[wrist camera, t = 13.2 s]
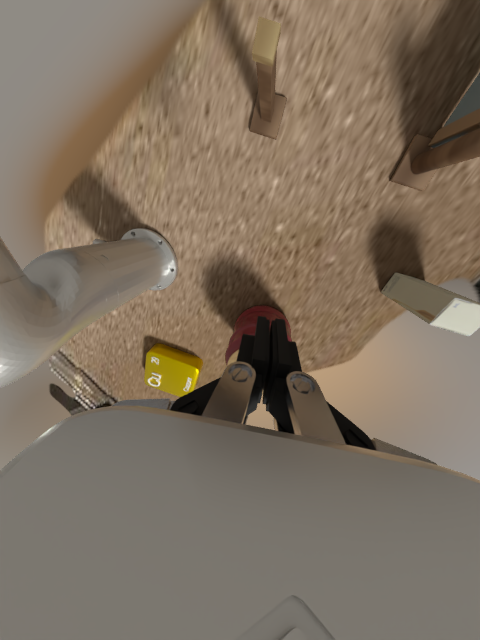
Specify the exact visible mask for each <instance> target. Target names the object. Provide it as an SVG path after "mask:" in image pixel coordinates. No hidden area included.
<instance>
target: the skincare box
mask: <svg viewBox="0 0 480 640" xmlns="http://www.w3.org/2000/svg"><path fill="white" fill-rule="evenodd" d="M381 293H382V294H384V295H385V296H387V297H388V298H390V299H392V300H393V301H395V302H396V303H398V304H399V305H401V306H402V307H404V308H405V309H407V310H409V311H410V312H412V313H413V314H415V315H416V316H418V317H419V318H421V319H422V320H424V321H425V322H427V323H429V324H430V325H432V326H435V327H438V328H441V329H444V330H448V331H451V332H455V333H458V334H463V335H467V336H470V335H471V334H472V333H474V332H475V331H476V330H477V329H479V328H480V303H478V302H476V301H473V300H471V299H468V298H466V297H463V296H461V295H458V294H456V293H453V292H451V291H448V290H446V289H443V288H441V287H438V286H436V285H433V284H431V283H428V282H426V281H423V280H420V279H417V278H414V277H411V276H407V275H404V274H400V273H394V275H393V276H392V277H391V279H390V280H389V281H388V283H387V284H386V285H385V287H384V288H383V290H382V291H381Z"/></svg>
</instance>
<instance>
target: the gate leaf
mask: <svg viewBox="0 0 480 640" xmlns="http://www.w3.org/2000/svg"><path fill="white" fill-rule="evenodd" d="M477 129H480V73H479V74H478V76H477V77H476V79H475V80H474V82H473V83H472V85H471V86H470V88H469V89H468V91H467V92H466V94H465V95H464V97H463V98H462V100H461V101H460V103H459V104H458V106H457V107H456V109H455V110H454V112H453V113H452V115H451V116H450V118H449V119H448V121H447V122H446V124H445V125H444V127H443V128H441V129H439V130H438V131H437V133H436V134H435V136H434V137H433V139H432V140H431V142H430V143H429V145H428V146H430V147H432V148H435V147H437V146H440V145H442V144H444V143H447V142H449V141H451V140H454V139H456V138H459V137H461V136H463V135H466V134H468V133H470V132H473V131H475V130H477Z"/></svg>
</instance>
